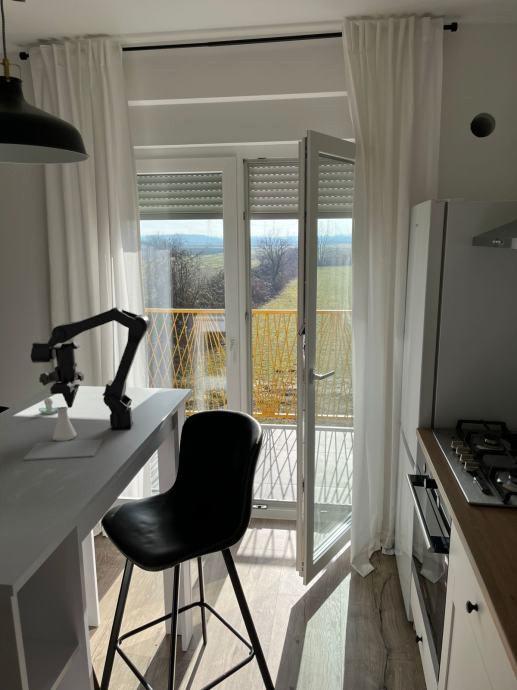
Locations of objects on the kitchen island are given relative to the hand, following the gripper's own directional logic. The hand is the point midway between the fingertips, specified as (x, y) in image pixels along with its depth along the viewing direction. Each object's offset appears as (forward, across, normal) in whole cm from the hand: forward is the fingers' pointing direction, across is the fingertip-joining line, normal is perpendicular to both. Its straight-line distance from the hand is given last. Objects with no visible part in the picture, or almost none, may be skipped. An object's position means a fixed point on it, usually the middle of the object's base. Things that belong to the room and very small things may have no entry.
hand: (70, 407), depth 179 cm
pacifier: (+8, -20, -13) cm, 25 cm away
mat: (+8, +20, +3) cm, 21 cm away
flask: (+8, +9, 0) cm, 12 cm away
